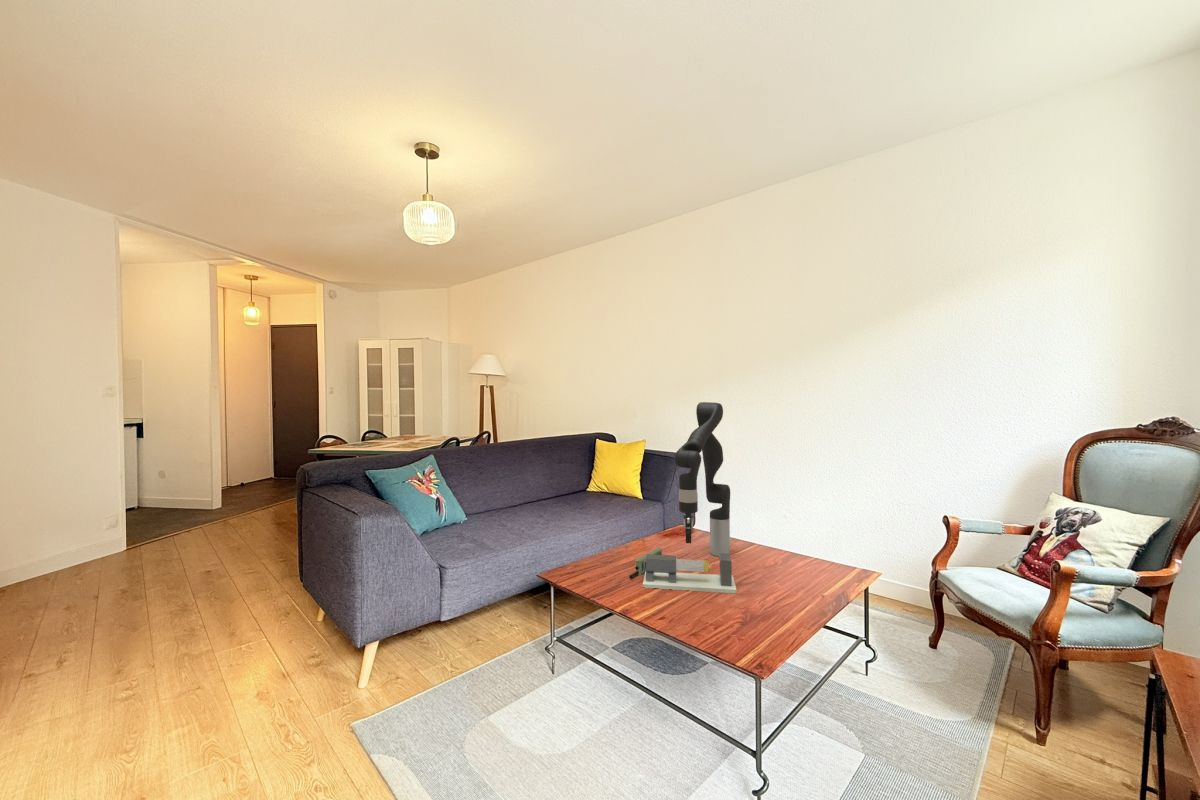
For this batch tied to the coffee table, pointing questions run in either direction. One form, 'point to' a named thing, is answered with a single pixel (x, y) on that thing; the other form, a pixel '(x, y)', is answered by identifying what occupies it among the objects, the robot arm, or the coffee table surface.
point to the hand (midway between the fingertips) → (688, 539)
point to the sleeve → (661, 566)
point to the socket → (725, 570)
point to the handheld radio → (644, 562)
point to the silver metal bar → (692, 565)
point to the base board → (690, 583)
